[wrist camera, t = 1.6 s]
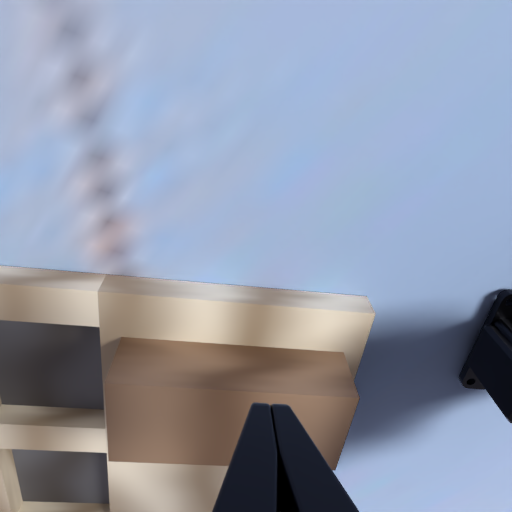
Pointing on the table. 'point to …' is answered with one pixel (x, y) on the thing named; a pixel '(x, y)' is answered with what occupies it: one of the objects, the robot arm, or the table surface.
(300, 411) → the bar
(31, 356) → the trap deck
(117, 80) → the table surface
